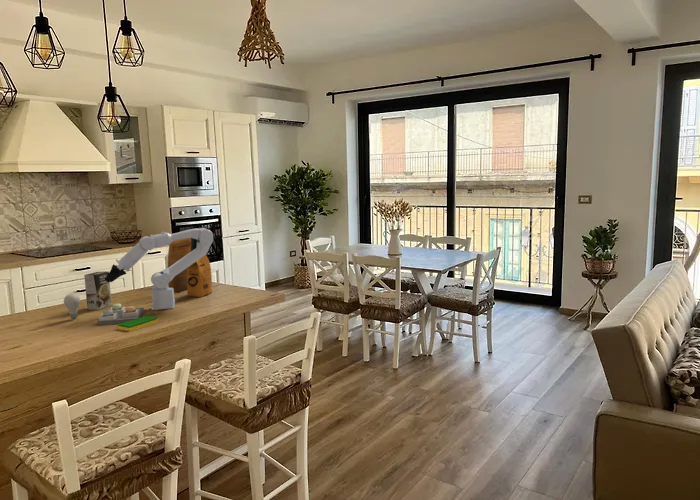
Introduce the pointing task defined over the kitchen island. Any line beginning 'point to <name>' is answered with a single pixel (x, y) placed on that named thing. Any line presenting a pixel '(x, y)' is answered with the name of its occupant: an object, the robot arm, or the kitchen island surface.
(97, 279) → the coffee box
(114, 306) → the sage button
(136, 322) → the dish sponge
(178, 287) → the pancake mix bag
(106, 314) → the slate button
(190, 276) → the coffee package
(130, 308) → the terracotta button
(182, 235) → the robot arm
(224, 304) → the kitchen island surface
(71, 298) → the lightbulb
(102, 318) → the button panel
